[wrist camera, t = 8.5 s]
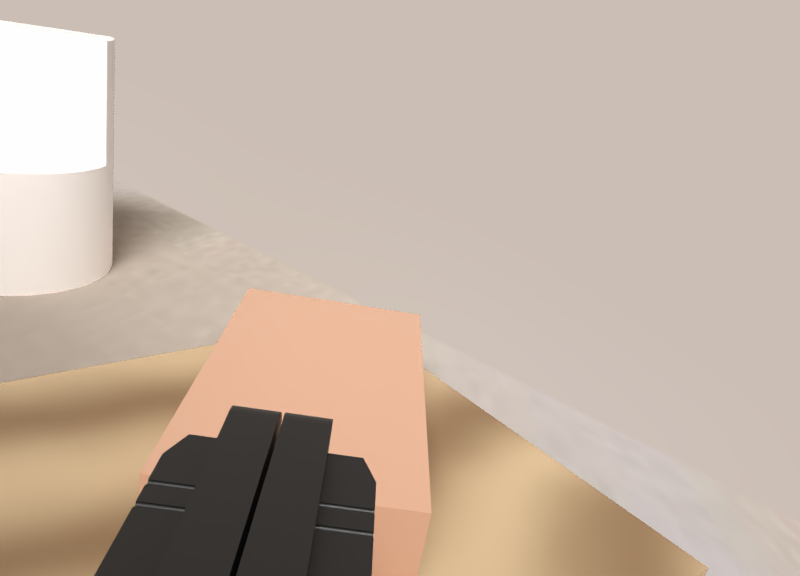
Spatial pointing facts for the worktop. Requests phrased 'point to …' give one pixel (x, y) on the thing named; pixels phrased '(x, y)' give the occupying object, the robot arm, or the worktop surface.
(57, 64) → the base with upright slab
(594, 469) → the worktop surface
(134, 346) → the worktop surface
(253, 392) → the tile
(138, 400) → the board
